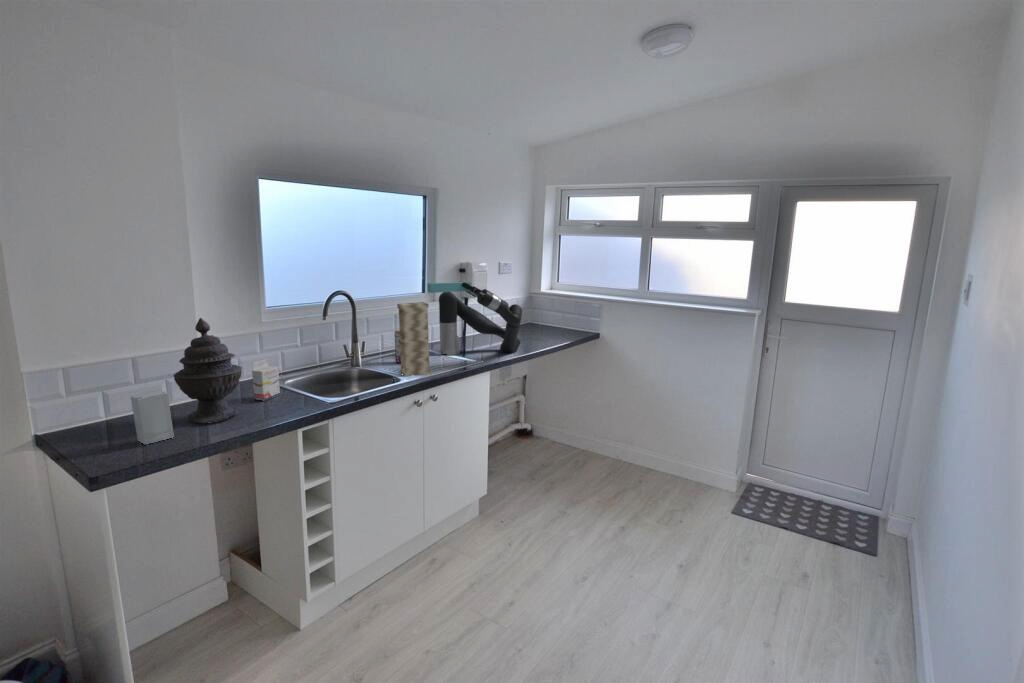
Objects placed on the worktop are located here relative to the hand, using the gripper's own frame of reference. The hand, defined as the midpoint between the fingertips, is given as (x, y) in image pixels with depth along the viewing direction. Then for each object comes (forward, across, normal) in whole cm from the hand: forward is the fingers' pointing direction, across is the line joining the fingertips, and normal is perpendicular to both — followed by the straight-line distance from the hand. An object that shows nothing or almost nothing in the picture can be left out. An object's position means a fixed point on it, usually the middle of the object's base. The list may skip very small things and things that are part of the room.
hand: (460, 283), depth 250 cm
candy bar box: (-3, +24, -44) cm, 50 cm away
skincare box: (+85, -42, -95) cm, 134 cm away
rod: (+3, 0, -6) cm, 7 cm away
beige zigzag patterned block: (0, 0, -46) cm, 46 cm away
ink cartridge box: (+55, -10, -78) cm, 96 cm away
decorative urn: (+71, -25, -87) cm, 115 cm away
